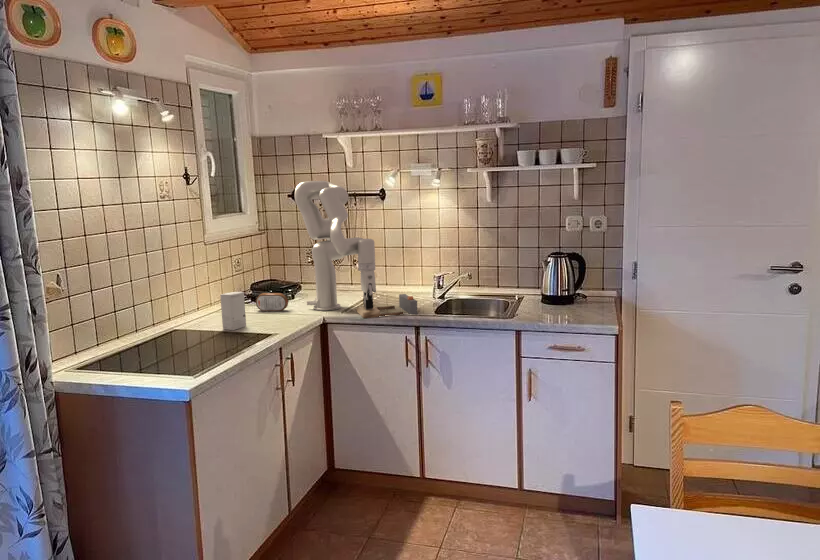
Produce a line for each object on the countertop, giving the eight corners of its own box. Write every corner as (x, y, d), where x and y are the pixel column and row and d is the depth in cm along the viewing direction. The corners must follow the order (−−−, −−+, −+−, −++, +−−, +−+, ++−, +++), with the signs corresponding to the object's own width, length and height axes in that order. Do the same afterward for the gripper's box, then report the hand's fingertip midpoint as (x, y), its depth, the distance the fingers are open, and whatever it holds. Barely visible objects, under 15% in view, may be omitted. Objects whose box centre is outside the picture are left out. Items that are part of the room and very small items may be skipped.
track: (363, 318, 275) (363, 315, 275) (356, 311, 289) (356, 309, 289) (403, 314, 280) (403, 312, 280) (394, 308, 294) (394, 305, 294)
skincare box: (232, 330, 259) (229, 295, 257) (222, 329, 262) (219, 294, 260) (247, 326, 266) (244, 291, 264) (236, 324, 269) (234, 290, 267)
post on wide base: (362, 316, 277) (362, 298, 275) (357, 311, 287) (356, 294, 286) (380, 315, 279) (379, 297, 278) (374, 310, 289) (373, 293, 288)
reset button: (409, 304, 283) (408, 297, 282) (407, 303, 285) (407, 296, 284) (413, 303, 283) (413, 296, 283) (412, 302, 285) (411, 296, 285)
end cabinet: (410, 314, 279) (410, 301, 278) (399, 307, 296) (399, 294, 295) (417, 314, 280) (417, 300, 279) (405, 306, 297) (405, 293, 296)
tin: (288, 310, 297) (287, 292, 295) (287, 311, 294) (285, 293, 292) (257, 310, 298) (256, 292, 297) (255, 311, 295) (254, 294, 294)
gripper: (379, 268, 273) (381, 310, 276) (370, 263, 288) (372, 303, 291) (362, 270, 271) (364, 311, 274) (354, 265, 286) (356, 304, 289)
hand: (368, 307), depth 282 cm, fingers open, 3 cm apart
